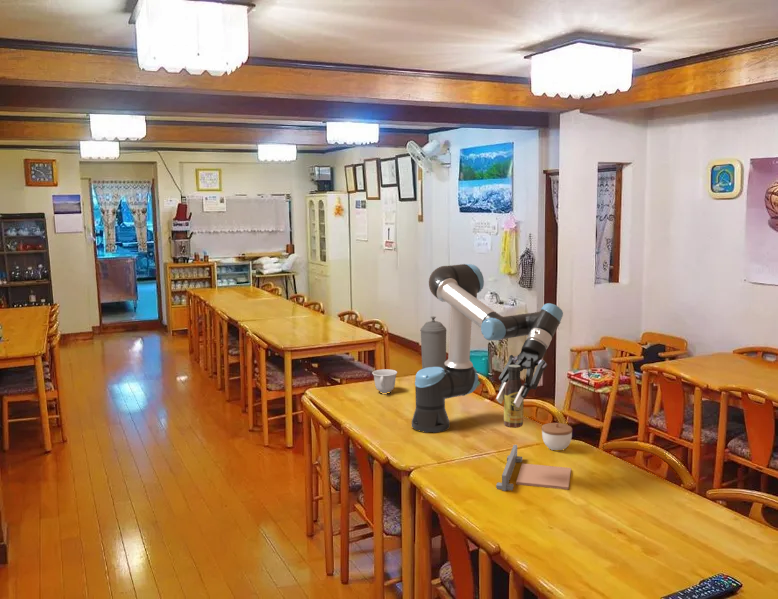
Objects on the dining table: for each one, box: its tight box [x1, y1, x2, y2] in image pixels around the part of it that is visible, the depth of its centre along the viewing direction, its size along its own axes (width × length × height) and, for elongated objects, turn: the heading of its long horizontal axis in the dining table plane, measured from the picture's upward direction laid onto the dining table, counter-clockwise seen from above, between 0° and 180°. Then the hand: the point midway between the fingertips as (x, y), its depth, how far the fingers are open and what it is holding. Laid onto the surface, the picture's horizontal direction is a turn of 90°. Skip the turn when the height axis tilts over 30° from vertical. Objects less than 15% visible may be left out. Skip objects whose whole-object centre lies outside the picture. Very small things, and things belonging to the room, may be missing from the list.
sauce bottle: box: [503, 365, 525, 429], centre depth 220 cm, size 6×6×20 cm
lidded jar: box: [541, 422, 573, 451], centre depth 246 cm, size 11×11×9 cm
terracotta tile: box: [515, 462, 572, 490], centre depth 220 cm, size 16×16×1 cm
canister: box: [420, 316, 448, 369], centre depth 329 cm, size 13×13×35 cm
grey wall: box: [495, 444, 523, 492], centre depth 223 cm, size 5×28×5 cm, turn 162°
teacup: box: [371, 368, 398, 393], centre depth 322 cm, size 12×15×10 cm
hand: (507, 402), depth 217 cm, fingers closed on sauce bottle, 6 cm apart
